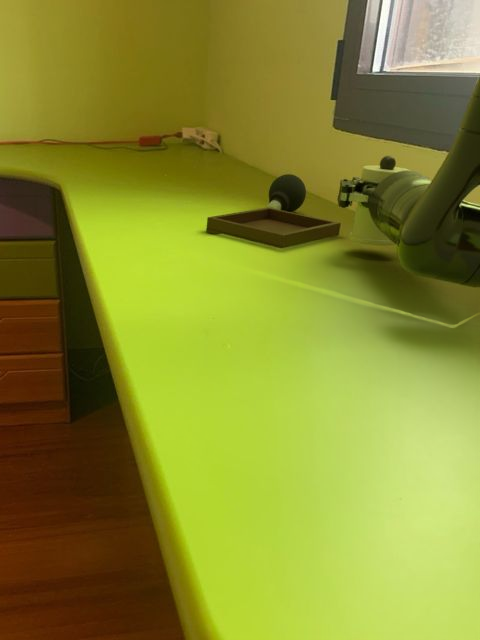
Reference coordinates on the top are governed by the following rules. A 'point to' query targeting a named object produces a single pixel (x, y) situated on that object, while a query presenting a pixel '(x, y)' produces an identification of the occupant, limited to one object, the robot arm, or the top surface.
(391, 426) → the top surface
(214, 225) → the tray
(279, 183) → the light bulb
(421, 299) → the top surface
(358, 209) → the white cylinder with knob
